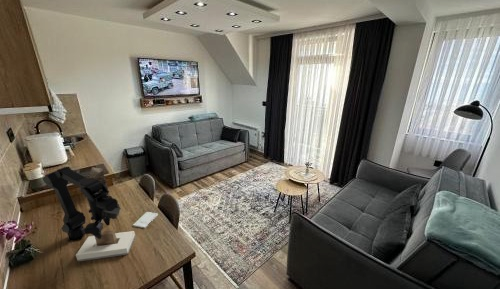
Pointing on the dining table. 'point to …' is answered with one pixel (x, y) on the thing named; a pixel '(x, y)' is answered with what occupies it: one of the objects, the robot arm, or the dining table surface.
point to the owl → (98, 176)
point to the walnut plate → (106, 238)
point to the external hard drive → (145, 220)
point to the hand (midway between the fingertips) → (104, 231)
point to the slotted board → (106, 247)
